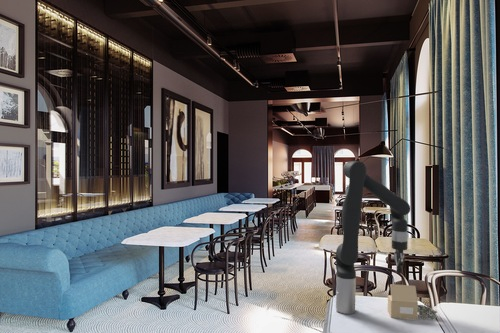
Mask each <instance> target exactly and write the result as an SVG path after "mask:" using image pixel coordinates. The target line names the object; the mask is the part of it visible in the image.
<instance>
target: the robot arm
mask: <svg viewBox="0 0 500 333" xmlns="http://www.w3.org/2000/svg"><path fill="white" fill-rule="evenodd" d="M342 168H343V169H342V171H343V175H344V176H345V177H347V178H348V179H349V182H348V183H349V184H348V190H347V192H346V195H345V198H344V200H343V202H342V208H341V225H342V226H341V227H342V232H343V234H342V239H343V240H342V243H341V244H339V245H338V246H337V248H336V251H335V269H336V270H335V271H336V288H335V310H336V313H341V314H345V315H351V314H354V313H355V312H356V290H357V289H356V286H357V285H356V283H357V273H356V272H357V271H356V268H355V264H356V262H357V261H358V258H359V233H360V226H361V225H360V224H361V218H362V207H363V206H362V203H363V195H364V194H363V193H364V189H366V190H367V191H368V192H369V193H370V194H372V195H373V196H375V198H377V199H378V200H379V201H381V202H382V204H385V205H387V206H389V207H390V208H389V211H390V217H391V221H392V230H391V231H392V232H391V249H393V250H395V251H394V253H393V255H394V262H395V263H394V264H395V265H396V270H395V272H396V274H398V275H400V274H401V275H402V272H403V271H402V270H403V269H402V267H404V264H405V261H406V259H405V253H404V251H407V250H408V243H409V242H408V240H409V238H408V221H407V220H406V219H405V216H407V215H408V214H409V213H410V211H411V205H410V203H408V202H407V201H406V200H404V199H403V198H402V197H400V196H398V195H396V194H395V193H394V192H393V191H391V190H390V189H389V188H388V187H387V186H385V185H384V184H383V183H381V182H379V181H378V180H375V179H374V178H373V177H371V176H370V175H368V174H367V166H366V164H365V163H364V162H363V161H360V160H350V161H347V162H346V163H345V164H344V165H343V167H342Z"/></svg>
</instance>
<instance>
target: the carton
mask: <svg viewBox="0 0 500 333" xmlns="http://www.w3.org/2000/svg"><path fill="white" fill-rule="evenodd" d="M418 305H419V304H418V303H411V302H398V301H392V297H391V294H388V295H387V313H388V314H389V316H390V318H394V319H402V320H403V319H405V320H415V321H418V315H419V312H418Z"/></svg>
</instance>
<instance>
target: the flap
mask: <svg viewBox="0 0 500 333" xmlns="http://www.w3.org/2000/svg"><path fill="white" fill-rule="evenodd" d="M390 295H391V297H392V301H398V302H411V303H418V302H419V301H418V296H417V289H416V285H410V284H409V285H407V284H394V283H393V284H391V283H390Z"/></svg>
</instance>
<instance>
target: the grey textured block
mask: <svg viewBox="0 0 500 333" xmlns="http://www.w3.org/2000/svg"><path fill="white" fill-rule="evenodd" d="M437 313H438V311H437V310H435V309H433V308H431V307H430V306H429V305H428V306H426V305H423V304H418V315H419V316H420V317H421V318H422V319H424V318H425V320H428V319H431V320H436V319H437Z"/></svg>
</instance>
